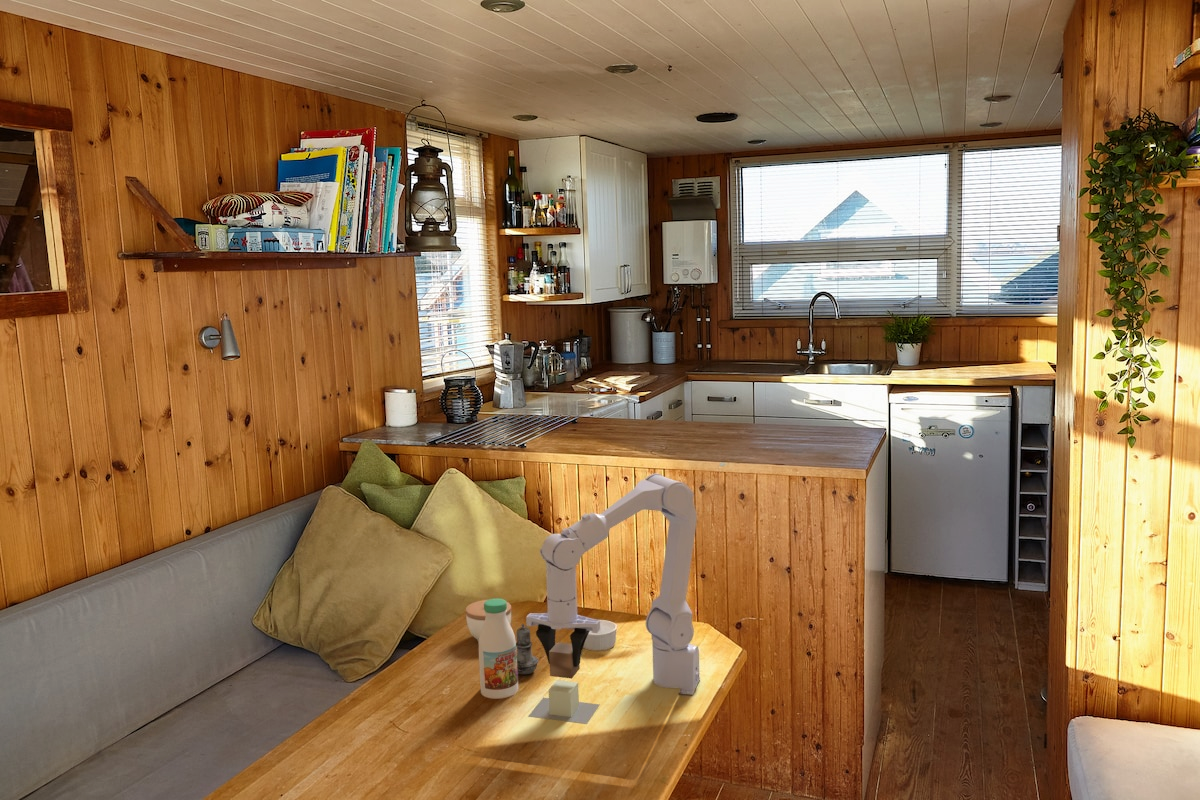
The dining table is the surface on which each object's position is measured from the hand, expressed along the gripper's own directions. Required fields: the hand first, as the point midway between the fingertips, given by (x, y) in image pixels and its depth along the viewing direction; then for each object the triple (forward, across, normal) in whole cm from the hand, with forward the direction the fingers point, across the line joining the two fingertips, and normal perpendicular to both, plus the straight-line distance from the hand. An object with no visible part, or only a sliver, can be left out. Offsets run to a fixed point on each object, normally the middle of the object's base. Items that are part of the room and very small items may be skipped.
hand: (564, 663), depth 183 cm
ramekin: (+11, -4, +34) cm, 35 cm away
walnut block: (+2, 0, 0) cm, 2 cm away
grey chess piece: (+11, -14, +14) cm, 22 cm away
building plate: (+10, 0, 0) cm, 11 cm away
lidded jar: (+11, -30, +30) cm, 44 cm away
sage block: (+10, 0, 0) cm, 10 cm away
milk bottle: (+11, -16, +4) cm, 20 cm away
